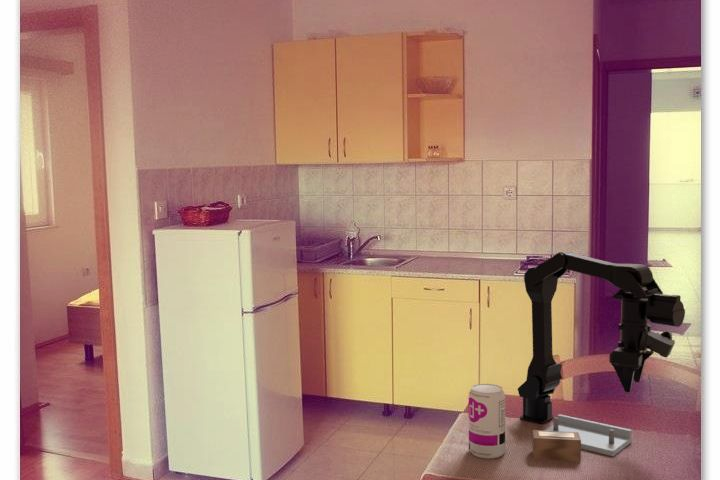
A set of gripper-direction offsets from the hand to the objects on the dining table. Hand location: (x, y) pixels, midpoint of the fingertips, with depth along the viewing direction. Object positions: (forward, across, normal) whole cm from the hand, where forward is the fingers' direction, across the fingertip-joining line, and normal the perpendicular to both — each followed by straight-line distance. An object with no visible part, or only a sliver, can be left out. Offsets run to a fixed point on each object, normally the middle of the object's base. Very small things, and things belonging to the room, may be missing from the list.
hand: (632, 386), depth 162 cm
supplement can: (+14, -21, +26) cm, 37 cm away
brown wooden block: (+14, -15, +13) cm, 24 cm away
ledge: (+14, -3, +10) cm, 17 cm away
